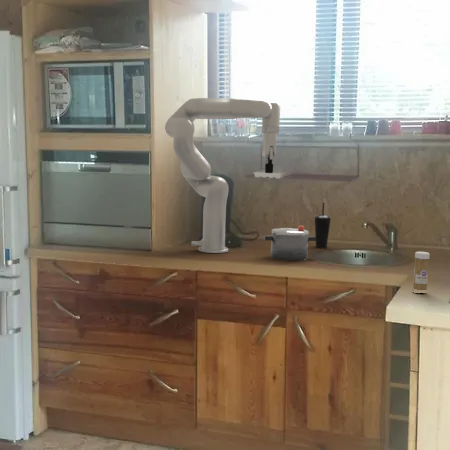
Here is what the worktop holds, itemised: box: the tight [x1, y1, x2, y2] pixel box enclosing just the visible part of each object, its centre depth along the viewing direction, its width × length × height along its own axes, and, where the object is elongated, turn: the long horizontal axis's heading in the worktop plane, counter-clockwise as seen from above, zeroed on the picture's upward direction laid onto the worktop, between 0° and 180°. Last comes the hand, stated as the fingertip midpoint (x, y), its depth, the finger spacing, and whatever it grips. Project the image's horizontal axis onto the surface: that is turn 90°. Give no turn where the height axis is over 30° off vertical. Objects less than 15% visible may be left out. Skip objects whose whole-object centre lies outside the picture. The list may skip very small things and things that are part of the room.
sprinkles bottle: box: [412, 251, 431, 291], centre depth 229 cm, size 5×5×14 cm
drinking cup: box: [313, 202, 332, 249], centre depth 316 cm, size 8×8×20 cm
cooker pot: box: [263, 233, 316, 262], centre depth 288 cm, size 21×16×10 cm
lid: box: [271, 225, 309, 236], centre depth 286 cm, size 15×15×3 cm
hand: (268, 172), depth 306 cm, fingers closed
